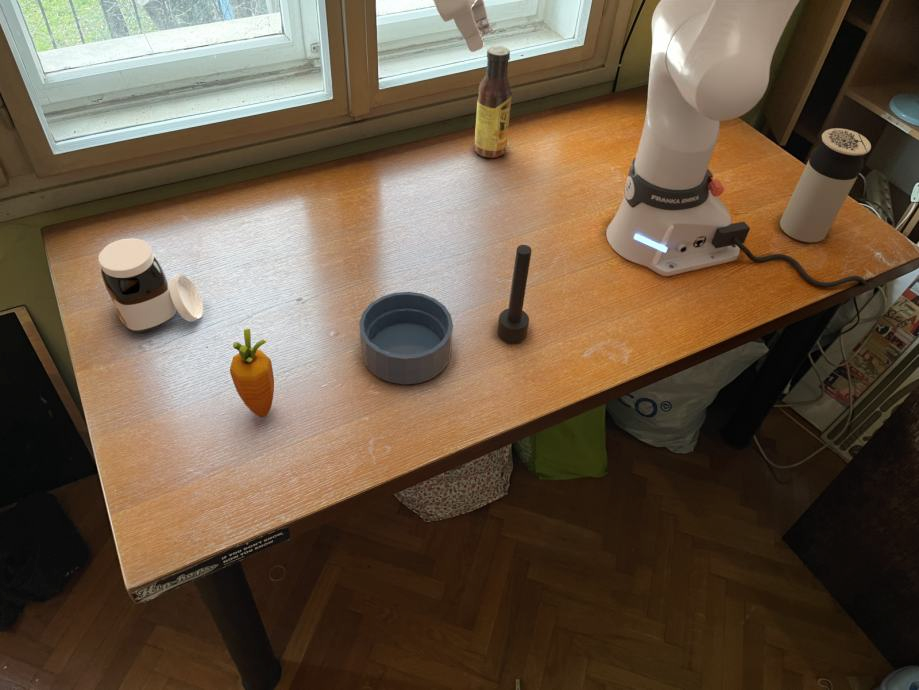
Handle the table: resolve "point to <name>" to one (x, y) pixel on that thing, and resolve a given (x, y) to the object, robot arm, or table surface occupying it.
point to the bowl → (406, 337)
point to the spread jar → (145, 287)
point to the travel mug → (824, 184)
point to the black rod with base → (516, 301)
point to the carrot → (253, 376)
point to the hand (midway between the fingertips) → (482, 41)
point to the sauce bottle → (493, 105)
